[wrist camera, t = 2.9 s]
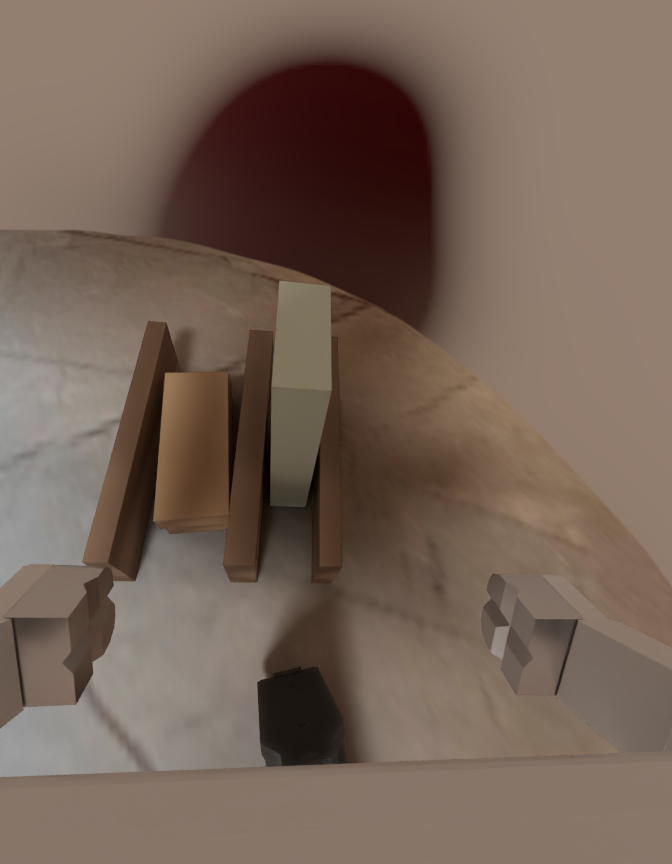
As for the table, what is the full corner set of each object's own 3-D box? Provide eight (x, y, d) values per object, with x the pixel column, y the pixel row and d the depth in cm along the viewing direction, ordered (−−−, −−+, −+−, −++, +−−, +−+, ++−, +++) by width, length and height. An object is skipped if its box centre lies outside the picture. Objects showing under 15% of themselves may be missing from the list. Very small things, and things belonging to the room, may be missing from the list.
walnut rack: (113, 580, 25) (82, 562, 21) (163, 366, 33) (148, 321, 29) (330, 583, 27) (342, 566, 23) (329, 378, 35) (337, 337, 30)
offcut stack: (169, 542, 27) (153, 520, 23) (178, 398, 32) (166, 360, 28) (234, 536, 28) (228, 514, 24) (232, 396, 33) (227, 359, 29)
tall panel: (270, 505, 29) (271, 386, 17) (275, 429, 32) (279, 280, 20) (305, 506, 29) (331, 390, 17) (307, 430, 32) (330, 285, 20)
